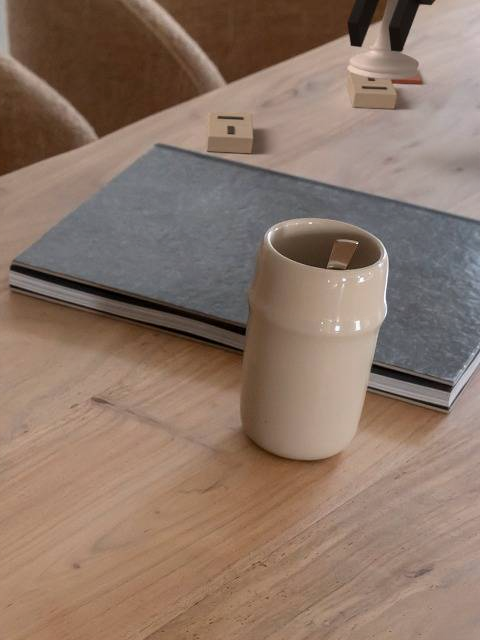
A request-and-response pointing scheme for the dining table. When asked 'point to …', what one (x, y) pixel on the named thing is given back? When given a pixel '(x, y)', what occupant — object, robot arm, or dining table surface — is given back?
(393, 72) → the chess piece
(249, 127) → the left block
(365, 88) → the beige block
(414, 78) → the reddish brown square tile
